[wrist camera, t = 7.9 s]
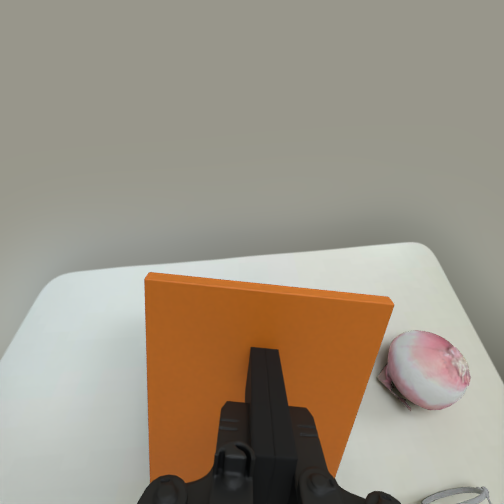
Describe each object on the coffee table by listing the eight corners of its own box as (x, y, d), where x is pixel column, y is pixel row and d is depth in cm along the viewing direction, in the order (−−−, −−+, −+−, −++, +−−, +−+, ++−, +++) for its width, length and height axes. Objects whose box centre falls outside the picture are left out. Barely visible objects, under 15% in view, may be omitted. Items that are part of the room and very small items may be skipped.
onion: (448, 415, 33) (500, 410, 27) (379, 410, 32) (416, 404, 26) (429, 342, 37) (470, 322, 31) (368, 337, 37) (397, 316, 31)
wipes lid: (148, 271, 15) (143, 278, 15) (389, 296, 16) (395, 304, 15) (153, 472, 22) (149, 484, 21) (325, 486, 22) (328, 498, 21)
